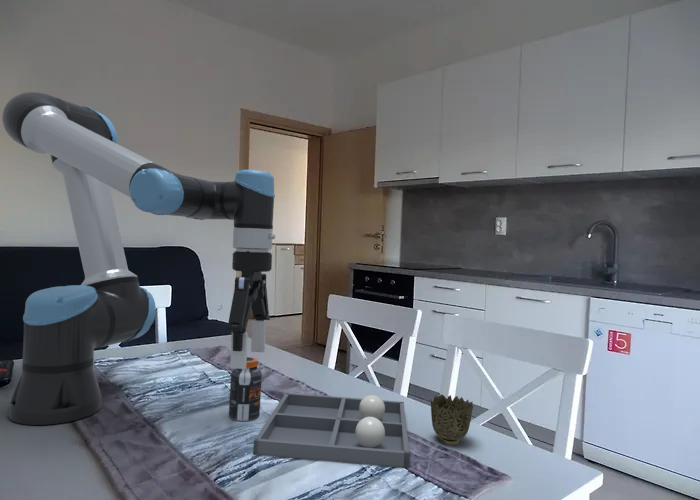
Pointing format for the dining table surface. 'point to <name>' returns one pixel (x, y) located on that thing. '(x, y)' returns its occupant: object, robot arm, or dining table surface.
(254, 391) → the pill bottle
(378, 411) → the egg ball
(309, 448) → the egg tray
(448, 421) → the cup
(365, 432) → the egg ball
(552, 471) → the dining table surface
